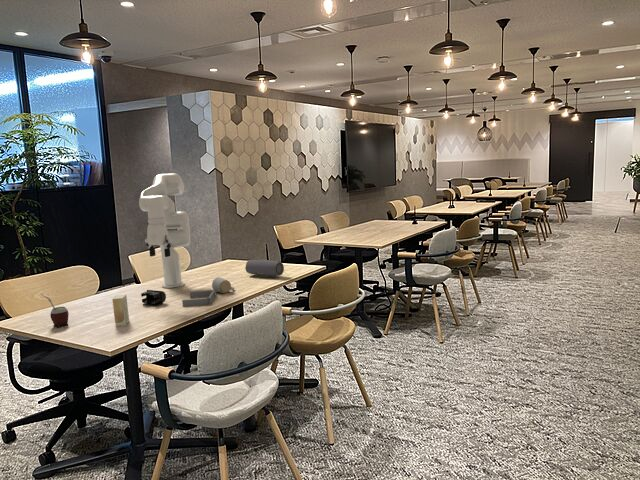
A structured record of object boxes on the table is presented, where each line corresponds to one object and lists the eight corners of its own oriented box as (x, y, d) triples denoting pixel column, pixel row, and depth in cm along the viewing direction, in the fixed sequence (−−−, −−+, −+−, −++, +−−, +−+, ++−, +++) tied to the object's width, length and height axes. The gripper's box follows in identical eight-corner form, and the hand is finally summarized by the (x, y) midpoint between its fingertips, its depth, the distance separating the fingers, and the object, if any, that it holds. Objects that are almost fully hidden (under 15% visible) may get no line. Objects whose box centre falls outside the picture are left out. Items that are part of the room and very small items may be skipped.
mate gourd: (72, 323, 227) (68, 290, 225) (64, 328, 219) (60, 294, 217) (55, 324, 227) (51, 291, 225) (46, 329, 219) (42, 295, 217)
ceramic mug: (220, 294, 264) (219, 280, 263) (212, 292, 270) (211, 278, 269) (237, 291, 271) (236, 276, 270) (229, 289, 277) (228, 275, 276)
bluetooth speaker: (285, 276, 301) (284, 259, 300) (275, 279, 294) (274, 262, 292) (255, 273, 314) (254, 257, 312) (245, 276, 306) (244, 260, 305)
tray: (190, 297, 263) (190, 291, 262) (215, 295, 263) (215, 289, 263) (182, 306, 245) (182, 300, 244) (210, 304, 245) (209, 298, 245)
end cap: (167, 303, 254) (165, 289, 253) (156, 306, 248) (154, 293, 247) (152, 301, 259) (151, 288, 258) (141, 305, 253) (140, 291, 252)
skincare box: (119, 322, 224) (116, 295, 223) (129, 321, 225) (126, 294, 223) (115, 326, 218) (111, 298, 216) (125, 325, 218) (122, 297, 217)
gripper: (137, 222, 250) (141, 257, 252) (164, 222, 243) (168, 258, 245) (149, 221, 257) (152, 254, 259) (175, 220, 249) (179, 255, 251)
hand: (160, 256), depth 252 cm, fingers open, 9 cm apart
